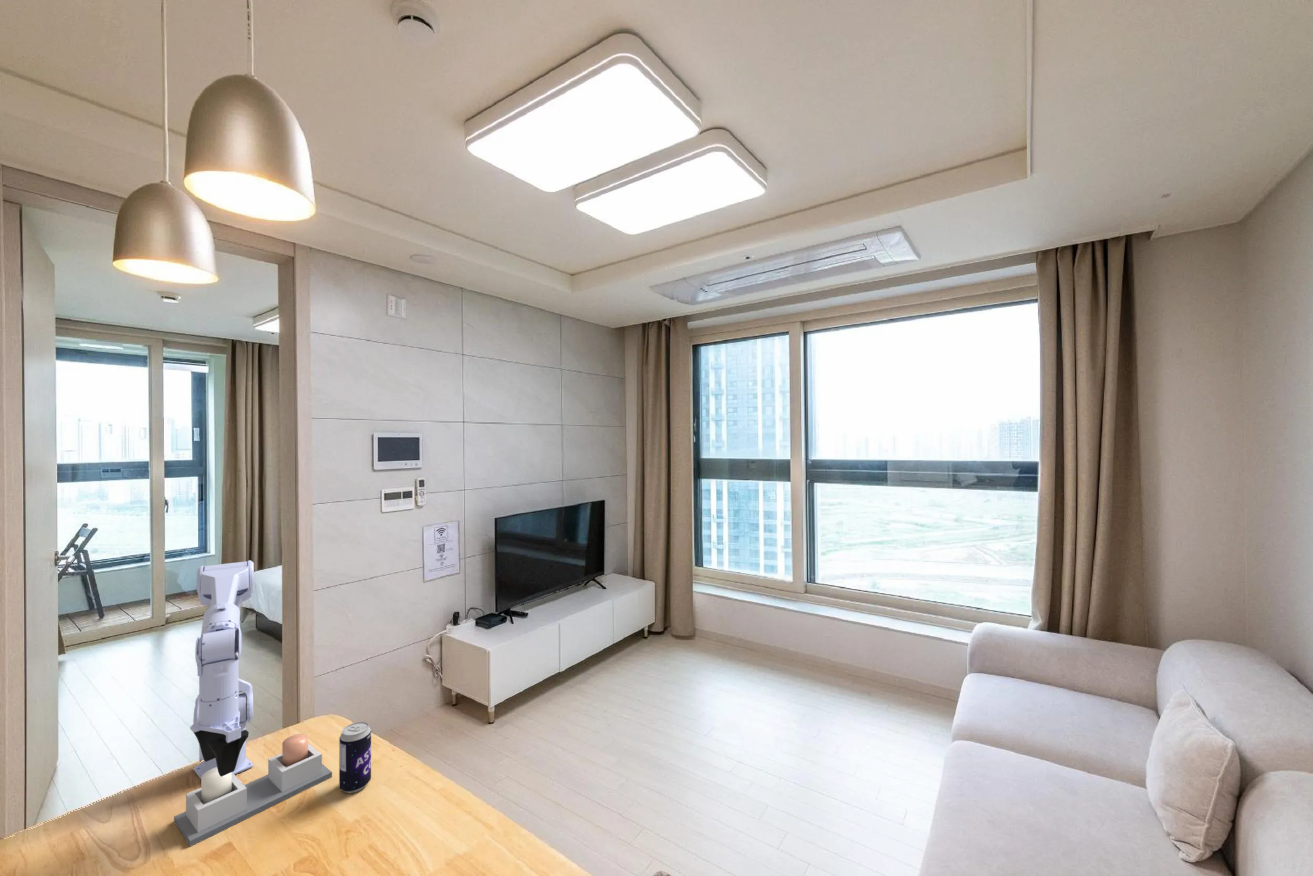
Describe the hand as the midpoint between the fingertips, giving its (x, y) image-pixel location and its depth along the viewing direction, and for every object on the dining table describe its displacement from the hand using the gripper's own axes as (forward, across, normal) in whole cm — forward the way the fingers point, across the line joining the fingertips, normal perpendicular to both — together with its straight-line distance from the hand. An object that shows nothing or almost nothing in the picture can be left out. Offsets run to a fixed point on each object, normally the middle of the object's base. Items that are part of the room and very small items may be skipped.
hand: (219, 765), depth 98 cm
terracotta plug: (+6, 0, +13) cm, 14 cm away
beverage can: (+10, +12, +19) cm, 25 cm away
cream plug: (+5, 0, 0) cm, 6 cm away
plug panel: (+10, 0, +6) cm, 12 cm away
